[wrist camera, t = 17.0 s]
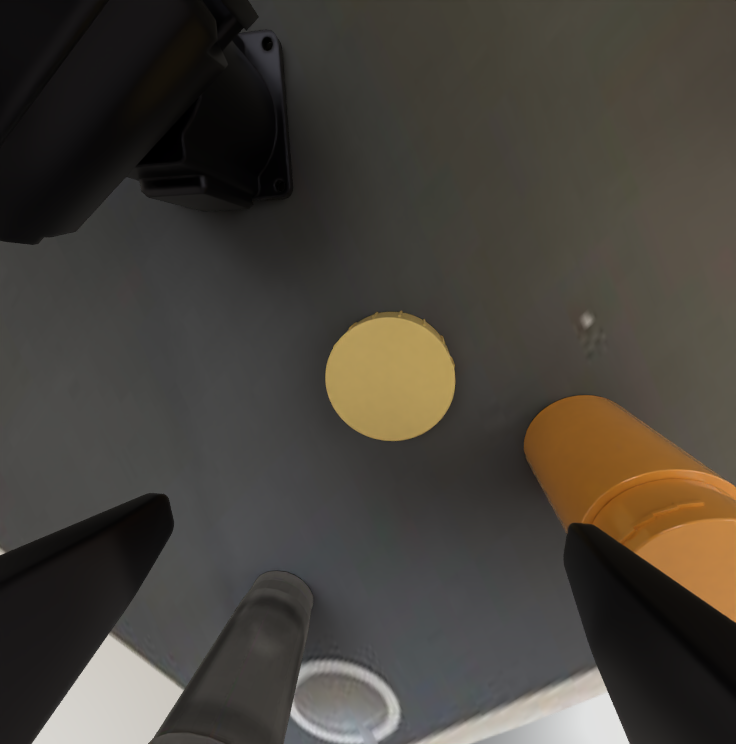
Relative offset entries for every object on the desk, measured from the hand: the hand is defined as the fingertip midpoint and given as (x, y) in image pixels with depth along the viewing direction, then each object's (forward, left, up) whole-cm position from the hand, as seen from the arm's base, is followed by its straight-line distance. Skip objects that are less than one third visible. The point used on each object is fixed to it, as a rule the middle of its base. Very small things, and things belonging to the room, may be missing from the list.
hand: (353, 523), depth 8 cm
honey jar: (+4, +10, -12) cm, 16 cm away
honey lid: (0, 0, -10) cm, 10 cm away
